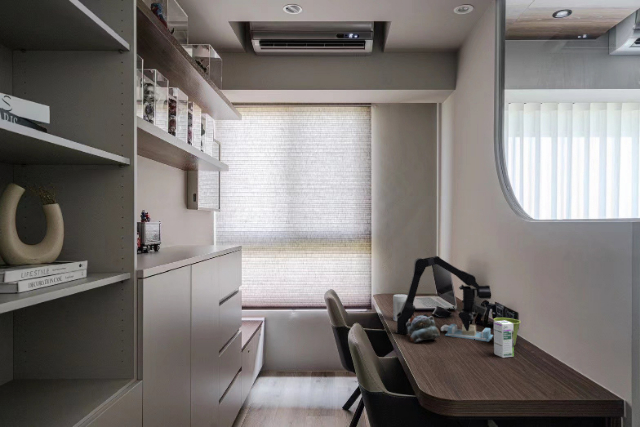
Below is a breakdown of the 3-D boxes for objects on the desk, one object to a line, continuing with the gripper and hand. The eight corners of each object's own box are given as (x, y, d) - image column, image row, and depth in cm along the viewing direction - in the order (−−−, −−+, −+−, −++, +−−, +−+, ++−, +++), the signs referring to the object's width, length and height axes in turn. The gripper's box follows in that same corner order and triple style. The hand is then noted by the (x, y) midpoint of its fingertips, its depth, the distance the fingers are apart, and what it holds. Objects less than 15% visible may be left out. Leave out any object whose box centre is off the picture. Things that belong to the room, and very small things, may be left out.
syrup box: (502, 358, 178) (502, 323, 179) (493, 353, 184) (493, 320, 184) (514, 357, 180) (514, 322, 180) (504, 352, 186) (504, 319, 186)
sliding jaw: (452, 334, 213) (452, 327, 213) (440, 333, 216) (440, 326, 216) (456, 330, 221) (456, 324, 221) (445, 329, 224) (445, 322, 224)
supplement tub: (413, 320, 245) (413, 295, 245) (403, 323, 239) (403, 297, 239) (399, 318, 252) (399, 293, 252) (389, 320, 246) (389, 295, 246)
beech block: (474, 336, 210) (474, 326, 210) (462, 334, 213) (462, 324, 213) (476, 334, 214) (475, 324, 214) (463, 332, 217) (463, 323, 217)
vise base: (489, 341, 203) (489, 333, 203) (445, 335, 214) (445, 327, 214) (493, 335, 213) (493, 327, 213) (450, 330, 224) (450, 322, 224)
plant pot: (524, 348, 192) (523, 323, 192) (496, 347, 194) (496, 322, 194) (517, 341, 203) (517, 318, 204) (491, 340, 206) (491, 316, 206)
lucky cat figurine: (408, 343, 199) (401, 314, 206) (413, 347, 209) (406, 319, 216) (440, 336, 195) (432, 307, 202) (443, 340, 205) (435, 312, 212)
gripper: (482, 303, 202) (482, 335, 201) (488, 297, 218) (488, 327, 217) (458, 300, 207) (458, 332, 207) (466, 295, 223) (466, 324, 223)
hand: (468, 329), depth 214 cm, fingers open, 7 cm apart
